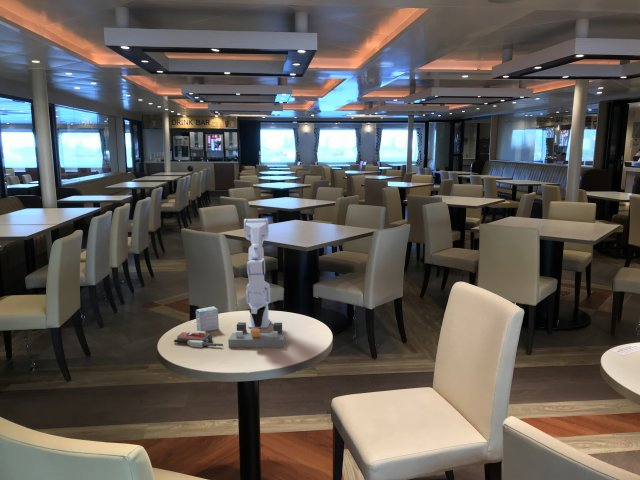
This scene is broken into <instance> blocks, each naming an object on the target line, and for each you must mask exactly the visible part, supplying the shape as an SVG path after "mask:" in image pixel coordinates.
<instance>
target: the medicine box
mask: <svg viewBox="0 0 640 480" xmlns="http://www.w3.org/2000/svg"><path fill="white" fill-rule="evenodd" d="M195 318H196V319H195V320H196V321H195V322H196V331H205V332H206V333H207V332H209V331H215V330H219V329H220V325H219V309H218V308H217V307H215V306H209V307H203V308H198V309H197V308H196V309H195Z"/></svg>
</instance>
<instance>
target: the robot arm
mask: <svg viewBox="0 0 640 480" xmlns="http://www.w3.org/2000/svg"><path fill="white" fill-rule="evenodd" d="M243 231H244V237H245V239H246V240H248V241H250V244H251V245H250V246H249V247H248V257H247V258H248V259H247V260H248V261H247V262H246V271H247V272H246V273H247V278H248V283H247V285H246V286H245V288H246V290H245V294H246V296H245V300H246V304H247V305H249V310H248V311H249V315H250V317H249V318H250V320H249V321H250V323H249V325H248V326H247V327H248V328H249V329H251V328H259V329H267V328H269V326H270V324H271V321H272V320H271V319H269V304H270V303H271V285H270V284H269V282H267V281H265V275H266V261H265V254H264V251H265V250H264V247H263V243H264V241H265V240H267V239H268V238H269V218H266V217H265V218H244V219H243Z"/></svg>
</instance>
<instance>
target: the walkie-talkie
mask: <svg viewBox="0 0 640 480" xmlns="http://www.w3.org/2000/svg"><path fill="white" fill-rule="evenodd" d="M212 341H213V335H212V334H211V333H208V332H207V331H206V332H205V331H198V330H195V331H193V332H190V330H189V331H186V332H185V331H183V332H181V333H179V334H178V335H177V336H176V339H174V340H173V343H175V344H176V343H177V345H189V347H192V348H202V349H203V347H217V346H218V347H224V344H223V343H217V342H216V343H213V342H212Z"/></svg>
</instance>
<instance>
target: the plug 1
mask: <svg viewBox="0 0 640 480" xmlns="http://www.w3.org/2000/svg"><path fill="white" fill-rule="evenodd" d="M236 331H243V333H248V329H247V322H246V321H244V322H241V321H238V322H237V324H236Z"/></svg>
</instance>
